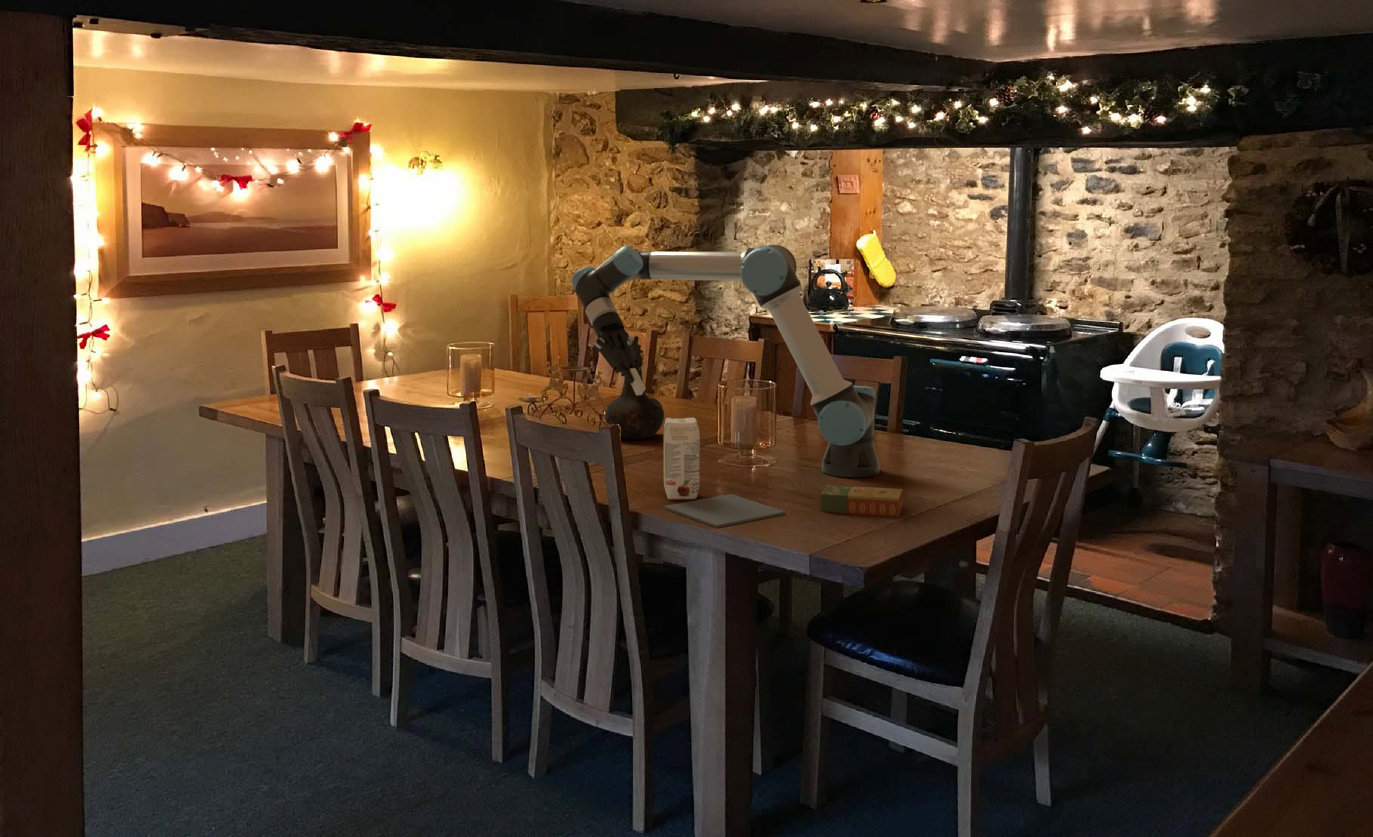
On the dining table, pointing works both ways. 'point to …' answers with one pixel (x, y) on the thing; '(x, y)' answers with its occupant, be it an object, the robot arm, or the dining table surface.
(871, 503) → the carton
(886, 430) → the dining table surface
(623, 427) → the glass bottle
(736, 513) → the mat
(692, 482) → the juice carton
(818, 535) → the dining table surface
